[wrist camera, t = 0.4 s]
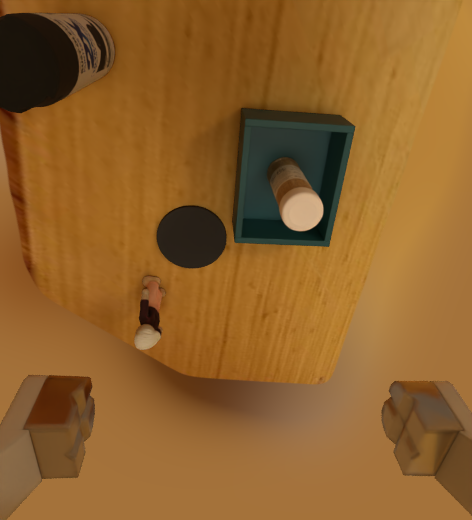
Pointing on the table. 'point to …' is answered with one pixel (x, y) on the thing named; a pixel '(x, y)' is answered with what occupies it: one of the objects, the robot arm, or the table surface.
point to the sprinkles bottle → (294, 195)
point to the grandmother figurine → (149, 314)
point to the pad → (191, 237)
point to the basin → (309, 161)
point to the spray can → (50, 57)
